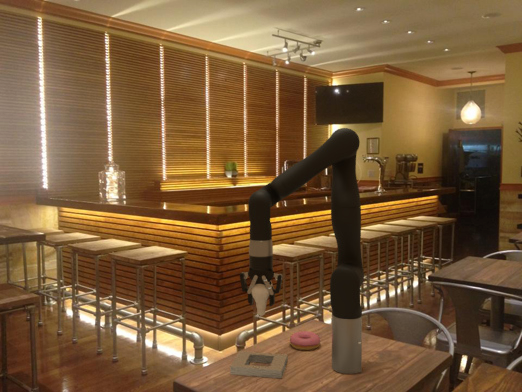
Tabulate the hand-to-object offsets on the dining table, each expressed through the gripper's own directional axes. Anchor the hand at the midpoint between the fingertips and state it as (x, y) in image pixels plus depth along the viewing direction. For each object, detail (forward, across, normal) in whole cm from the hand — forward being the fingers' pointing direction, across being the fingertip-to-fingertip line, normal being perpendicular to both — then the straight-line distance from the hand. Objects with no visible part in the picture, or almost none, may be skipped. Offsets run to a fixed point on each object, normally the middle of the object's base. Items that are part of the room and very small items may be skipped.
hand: (261, 304), depth 153 cm
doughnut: (+20, -12, -18) cm, 30 cm away
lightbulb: (+4, 0, 0) cm, 4 cm away
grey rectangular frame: (+20, 0, +3) cm, 20 cm away
